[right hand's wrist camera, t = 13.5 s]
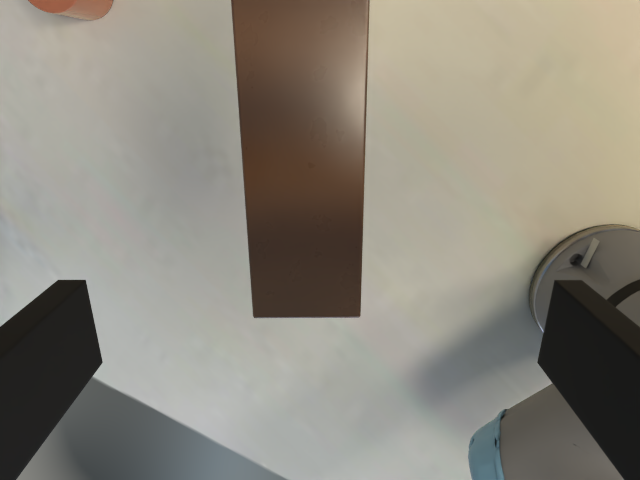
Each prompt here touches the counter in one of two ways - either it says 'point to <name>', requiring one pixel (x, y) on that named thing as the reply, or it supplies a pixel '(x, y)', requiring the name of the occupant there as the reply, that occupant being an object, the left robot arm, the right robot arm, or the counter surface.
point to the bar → (303, 152)
